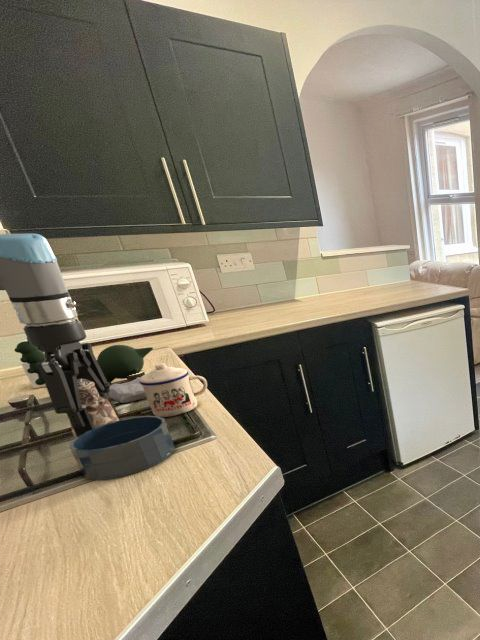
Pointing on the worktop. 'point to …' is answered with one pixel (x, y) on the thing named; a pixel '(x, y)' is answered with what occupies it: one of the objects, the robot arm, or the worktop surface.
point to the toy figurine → (111, 360)
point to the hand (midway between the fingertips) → (98, 430)
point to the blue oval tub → (122, 447)
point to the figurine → (95, 405)
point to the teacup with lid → (170, 390)
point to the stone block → (127, 391)
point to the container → (33, 376)
